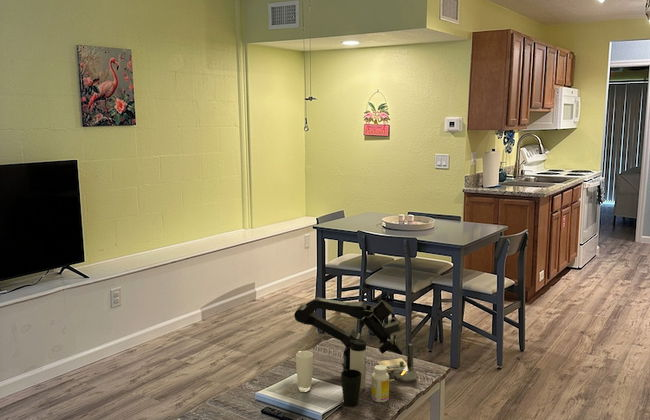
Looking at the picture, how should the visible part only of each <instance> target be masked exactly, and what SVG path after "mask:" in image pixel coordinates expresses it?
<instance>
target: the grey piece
mask: <svg viewBox="0 0 650 420" xmlns="http://www.w3.org/2000/svg"><path fill="white" fill-rule="evenodd" d="M406 349H407V351H406V352H407V356H406V363H407V366H406V367H400V368H397V369H395V370H394V372H393V379H395V380H396V381H397V382H400V383H405V384H406V383H407V384H409V383H413V382H415V381H416V380H417V372H416V370H415V369H414V355H415V353H414V352H415V344H414V343H407V348H406ZM395 380H394V381H395Z"/></svg>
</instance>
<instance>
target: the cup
mask: <svg viewBox="0 0 650 420" xmlns="http://www.w3.org/2000/svg"><path fill="white" fill-rule="evenodd" d="M361 375H362V374H361V372H359V371H357V370H353V369H348V370H347V369H344V370H343V371H341V373H340V377H341V378H340V379H341V389H342V390H341V391H342V401H343V400H344V404H343V406H345V407H347V408H355V407H357V406H358V405H359V399H360V392H361V391H360V384H361Z"/></svg>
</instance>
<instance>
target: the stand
mask: <svg viewBox="0 0 650 420" xmlns="http://www.w3.org/2000/svg"><path fill="white" fill-rule="evenodd" d="M376 365H384V366H386V367H387V371H386V372H387V373H388V374H390V373H394V370H395V369H397V368H400V367H406V366H407V361H405V360H404V359H403V358H402V357H401V358H393V359H388V360H387V359H385V360H379V361H376ZM389 372H390V373H389Z"/></svg>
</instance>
